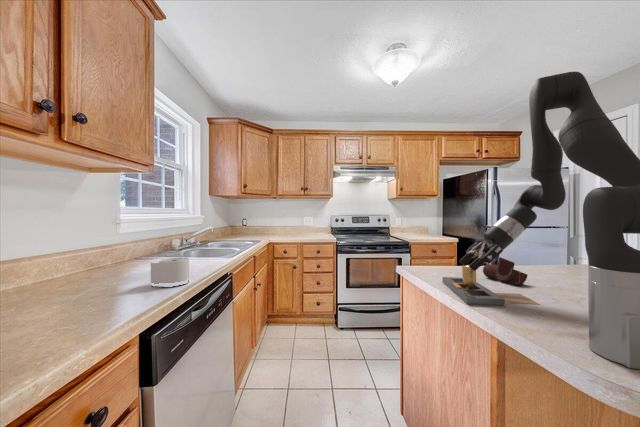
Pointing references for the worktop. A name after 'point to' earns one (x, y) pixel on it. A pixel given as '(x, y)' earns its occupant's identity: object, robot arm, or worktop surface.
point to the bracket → (505, 272)
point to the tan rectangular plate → (516, 298)
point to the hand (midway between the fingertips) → (466, 265)
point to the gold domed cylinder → (468, 277)
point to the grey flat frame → (473, 293)
